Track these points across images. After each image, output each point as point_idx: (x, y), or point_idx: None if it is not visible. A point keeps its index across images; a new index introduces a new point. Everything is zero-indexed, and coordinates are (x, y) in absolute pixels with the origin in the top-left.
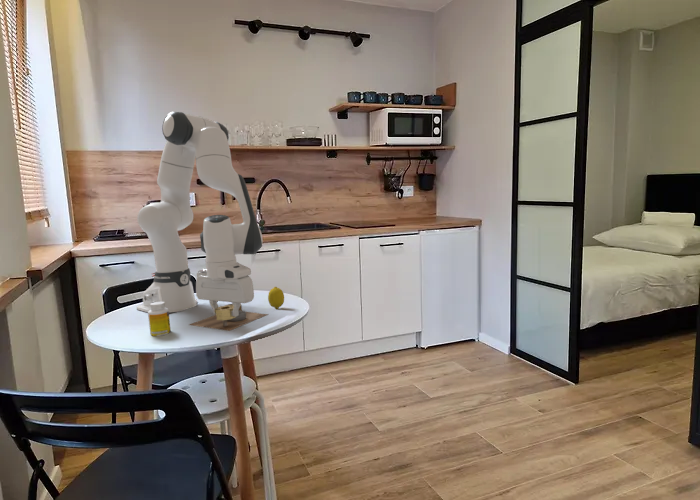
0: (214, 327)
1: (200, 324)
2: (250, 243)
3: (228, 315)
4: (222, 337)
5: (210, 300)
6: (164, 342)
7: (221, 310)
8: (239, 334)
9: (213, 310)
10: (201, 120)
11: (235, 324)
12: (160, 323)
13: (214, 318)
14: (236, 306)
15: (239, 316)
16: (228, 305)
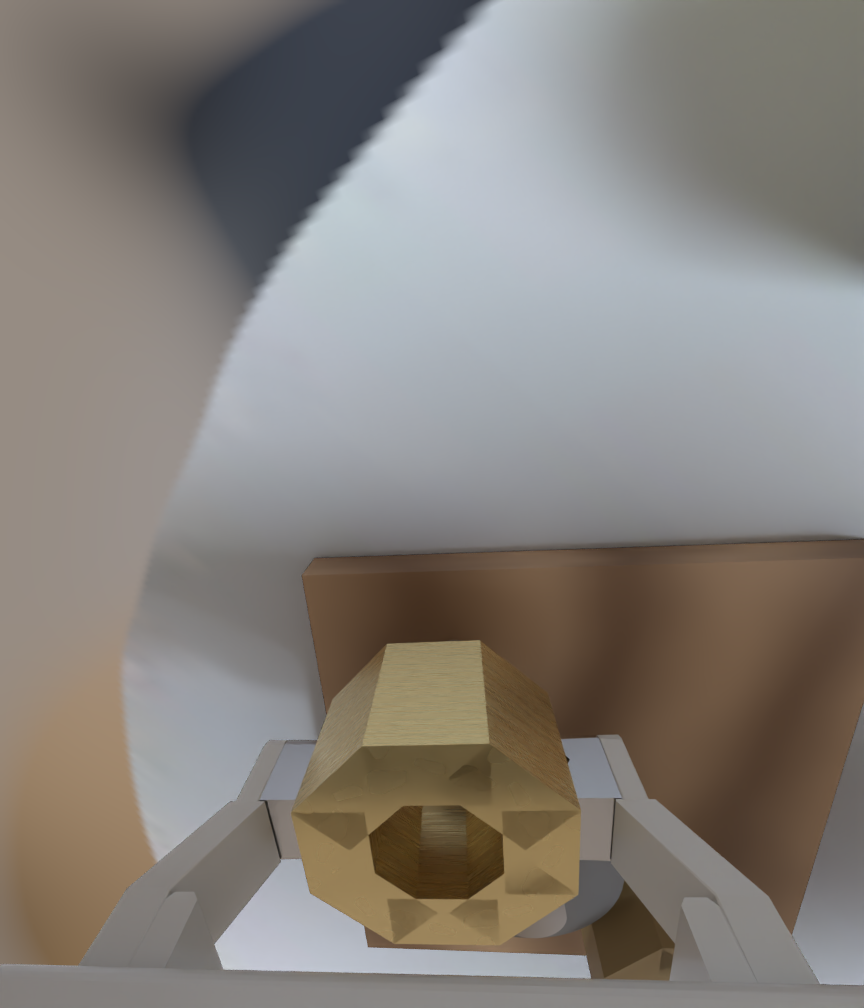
0: (526, 591)
1: (759, 608)
2: None
3: (328, 725)
4: (308, 477)
5: (783, 985)
6: (817, 32)
7: (367, 749)
8: (244, 591)
9: (637, 779)
10: None
11: None
12: None
13: (750, 779)
14: (147, 886)
15: None
16: (494, 937)
